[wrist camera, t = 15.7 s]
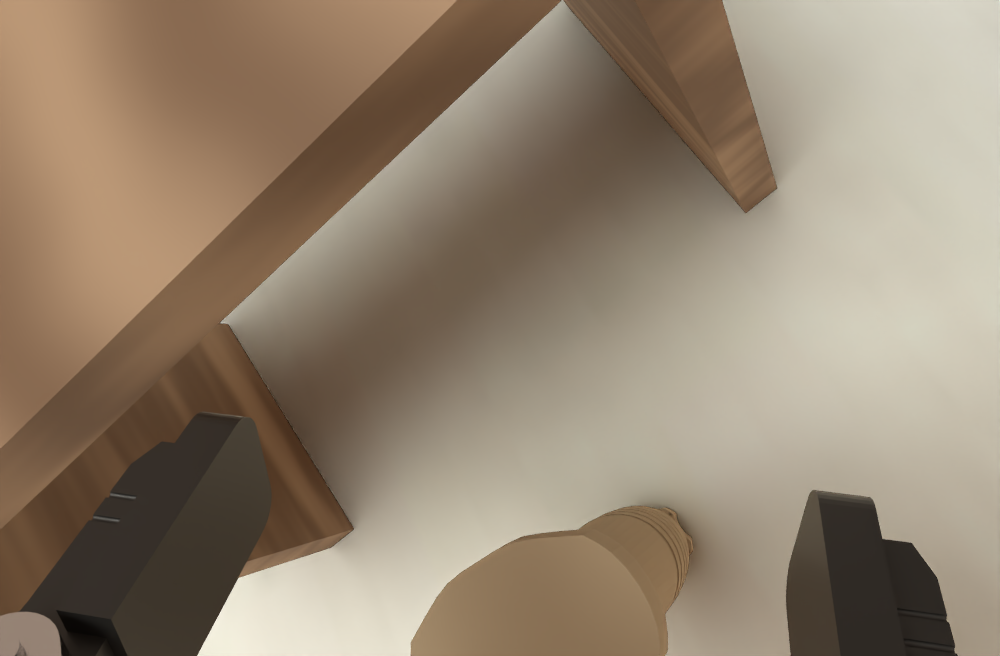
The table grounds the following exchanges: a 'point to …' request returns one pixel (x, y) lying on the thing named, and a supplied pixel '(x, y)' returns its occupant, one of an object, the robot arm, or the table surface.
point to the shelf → (238, 209)
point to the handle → (566, 592)
